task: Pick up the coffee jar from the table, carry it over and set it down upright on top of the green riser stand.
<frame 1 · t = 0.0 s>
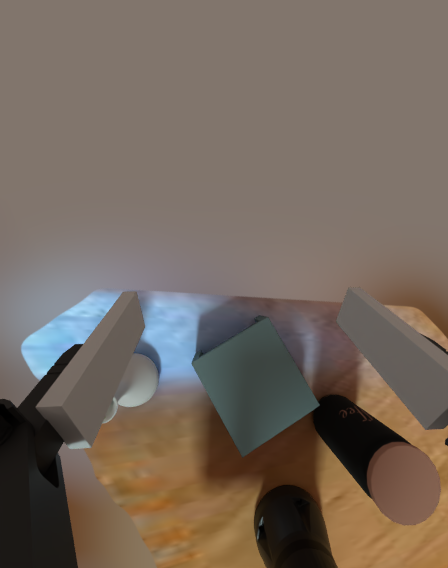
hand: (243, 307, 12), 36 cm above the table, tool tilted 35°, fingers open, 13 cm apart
green riser stand: (248, 371, 47), on the table
coffee jar: (332, 415, 46), on the table
flower in vase: (132, 375, 46), on the table
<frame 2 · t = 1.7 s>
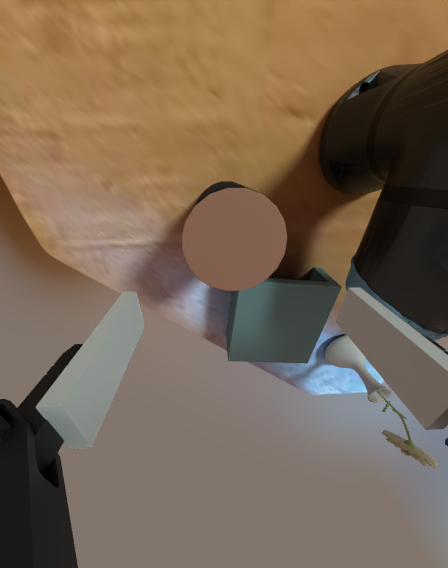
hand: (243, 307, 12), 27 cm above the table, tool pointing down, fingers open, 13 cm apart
green riser stand: (269, 304, 45), on the table
coffee jar: (225, 214, 35), on the table
flower in vase: (343, 346, 54), on the table
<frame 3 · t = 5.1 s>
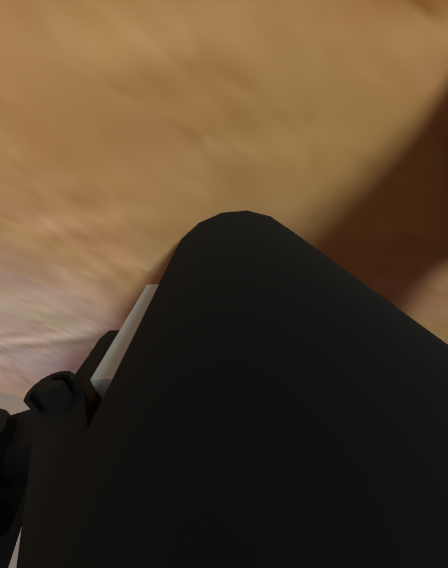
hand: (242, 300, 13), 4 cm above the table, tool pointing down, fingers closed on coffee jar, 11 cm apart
coffee jar: (235, 273, 17), on the table, touching gripper
when the fingers open (14 cm above the table, at t = 11.5 s): coffee jar drops 2 cm, resting on green riser stand.
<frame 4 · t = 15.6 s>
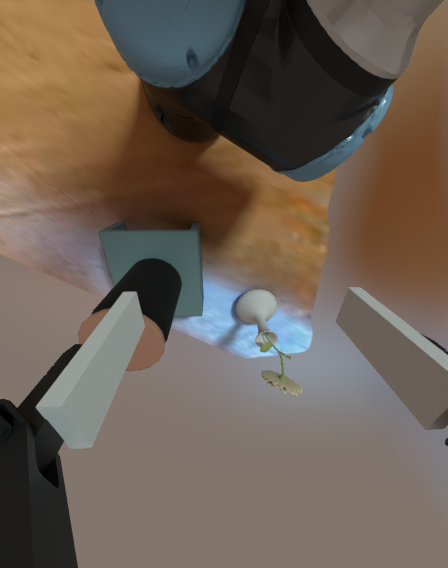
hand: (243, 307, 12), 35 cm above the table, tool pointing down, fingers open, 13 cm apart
green riser stand: (165, 264, 48), on the table
coffee jar: (157, 279, 41), point 8 cm above the table, touching green riser stand
flower in vase: (256, 304, 56), on the table
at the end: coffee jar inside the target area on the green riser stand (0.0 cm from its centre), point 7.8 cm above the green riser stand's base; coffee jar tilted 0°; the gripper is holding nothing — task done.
